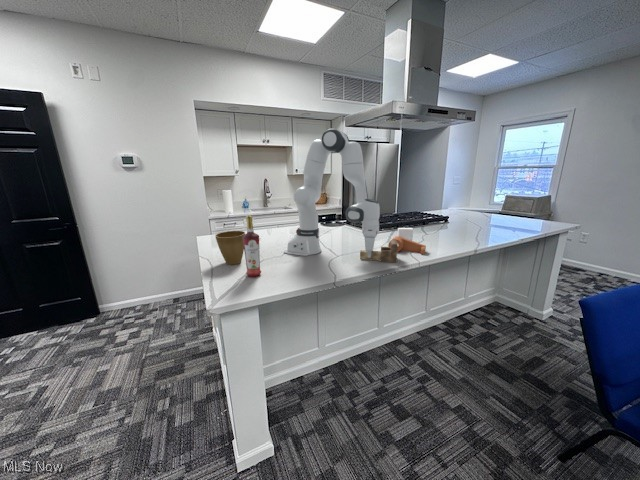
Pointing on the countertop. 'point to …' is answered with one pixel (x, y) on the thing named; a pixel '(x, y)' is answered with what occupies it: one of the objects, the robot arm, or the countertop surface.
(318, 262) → the countertop surface
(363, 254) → the rail
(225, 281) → the countertop surface
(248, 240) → the liquor
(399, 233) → the white piece
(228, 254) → the plant pot
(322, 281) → the countertop surface
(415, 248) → the crank
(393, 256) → the wooden u-shaped bracket
